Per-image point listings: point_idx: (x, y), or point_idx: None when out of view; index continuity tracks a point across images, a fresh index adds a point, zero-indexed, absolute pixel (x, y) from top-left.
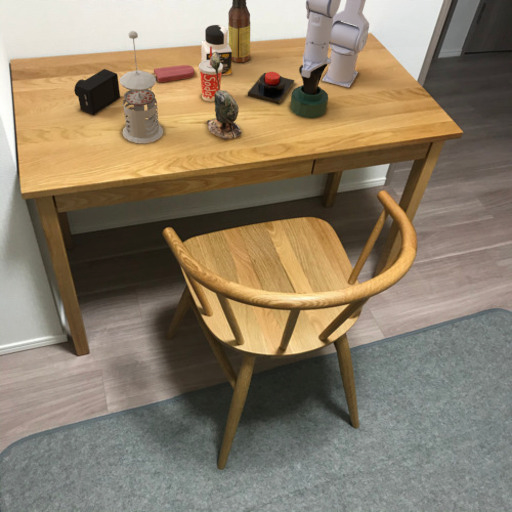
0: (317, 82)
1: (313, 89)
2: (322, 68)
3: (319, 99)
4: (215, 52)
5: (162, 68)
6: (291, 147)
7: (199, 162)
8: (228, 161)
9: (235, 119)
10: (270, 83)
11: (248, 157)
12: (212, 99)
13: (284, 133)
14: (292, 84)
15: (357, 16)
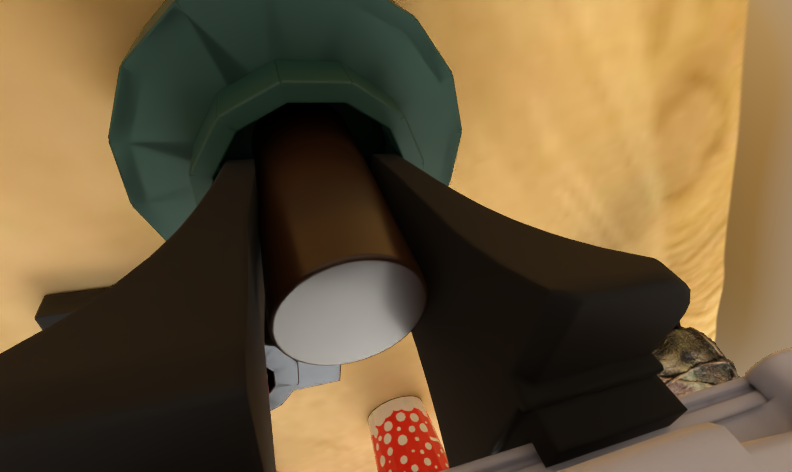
0: (350, 200)
1: (434, 178)
2: (251, 333)
3: (344, 61)
4: None
5: None
6: (688, 67)
7: (701, 279)
8: (716, 230)
9: (699, 332)
10: (267, 378)
11: (712, 193)
12: (422, 406)
13: (577, 140)
14: (86, 301)
15: None
